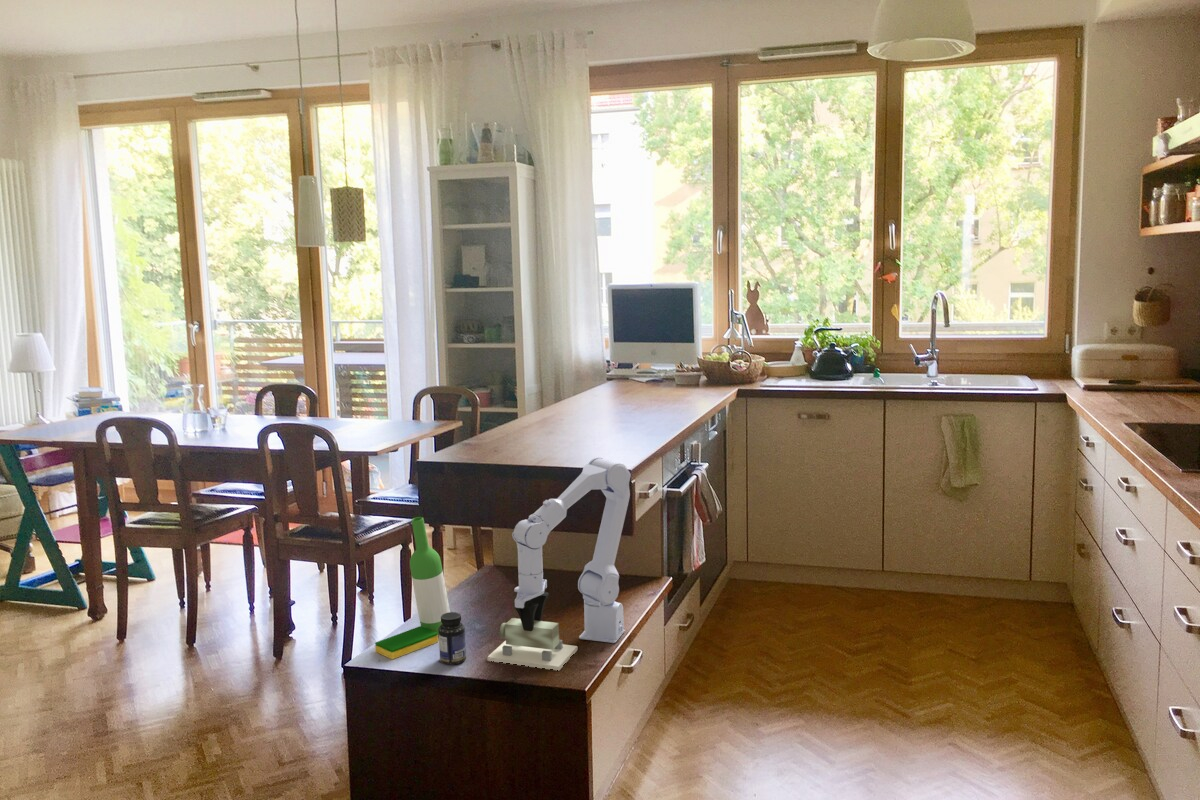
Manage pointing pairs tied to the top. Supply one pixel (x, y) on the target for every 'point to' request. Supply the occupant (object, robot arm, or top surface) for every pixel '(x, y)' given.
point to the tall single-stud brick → (531, 634)
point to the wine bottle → (427, 580)
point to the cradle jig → (533, 655)
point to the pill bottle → (452, 639)
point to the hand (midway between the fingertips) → (532, 626)
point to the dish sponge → (406, 642)
